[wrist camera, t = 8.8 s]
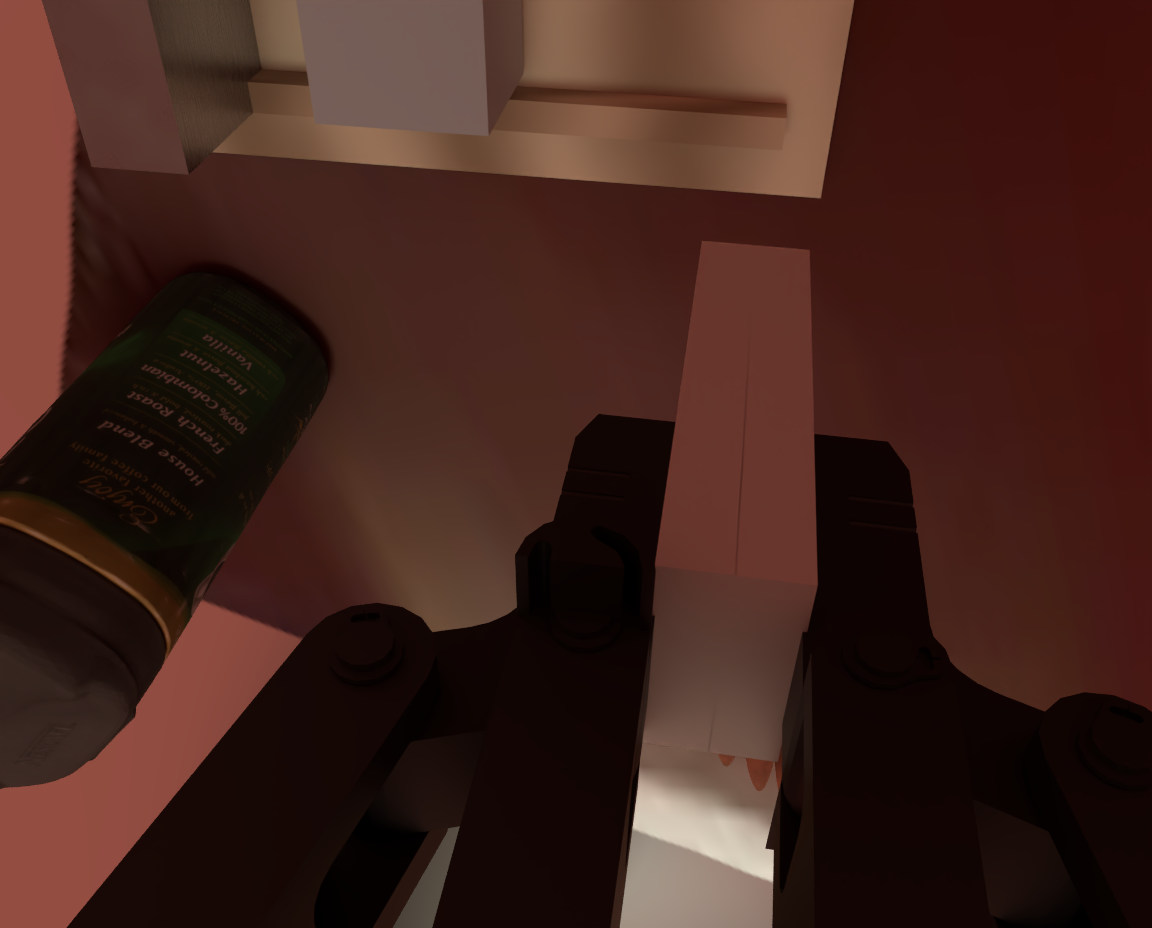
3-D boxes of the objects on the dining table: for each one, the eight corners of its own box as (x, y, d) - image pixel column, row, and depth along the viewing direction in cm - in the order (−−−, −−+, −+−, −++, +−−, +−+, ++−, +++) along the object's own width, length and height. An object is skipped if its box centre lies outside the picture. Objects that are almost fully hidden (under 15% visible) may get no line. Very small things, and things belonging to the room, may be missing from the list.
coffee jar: (191, 229, 40) (-136, 572, 26) (363, 352, 42) (150, 727, 28) (99, 377, 45) (-211, 727, 31) (256, 478, 48) (34, 846, 34)
